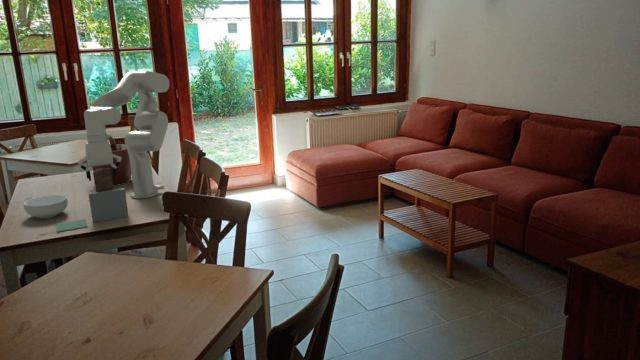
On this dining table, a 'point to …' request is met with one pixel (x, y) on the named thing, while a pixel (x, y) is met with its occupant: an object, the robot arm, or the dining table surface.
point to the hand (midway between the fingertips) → (102, 178)
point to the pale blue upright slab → (108, 204)
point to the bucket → (123, 167)
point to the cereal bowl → (46, 206)
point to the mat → (71, 225)
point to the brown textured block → (103, 180)
